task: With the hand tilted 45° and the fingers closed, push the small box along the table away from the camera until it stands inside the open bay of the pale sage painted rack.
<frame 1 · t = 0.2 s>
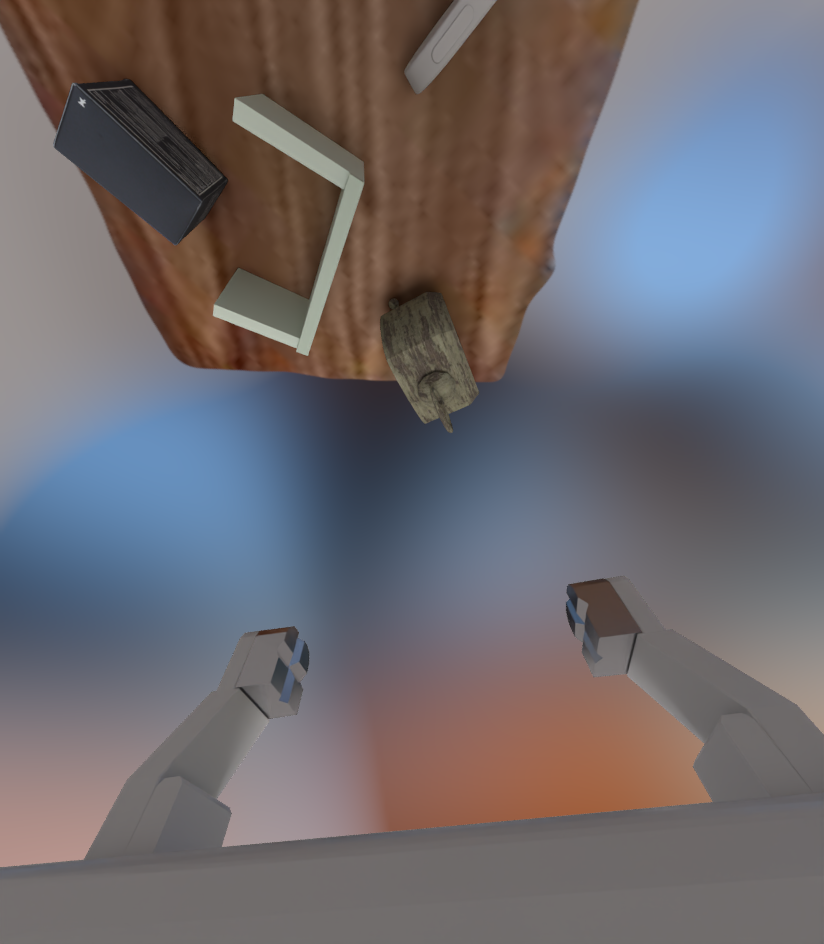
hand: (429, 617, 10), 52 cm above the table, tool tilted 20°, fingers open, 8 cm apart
small box: (171, 157, 39), on the table
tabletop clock: (422, 322, 56), on the table
rack: (331, 245, 46), on the table
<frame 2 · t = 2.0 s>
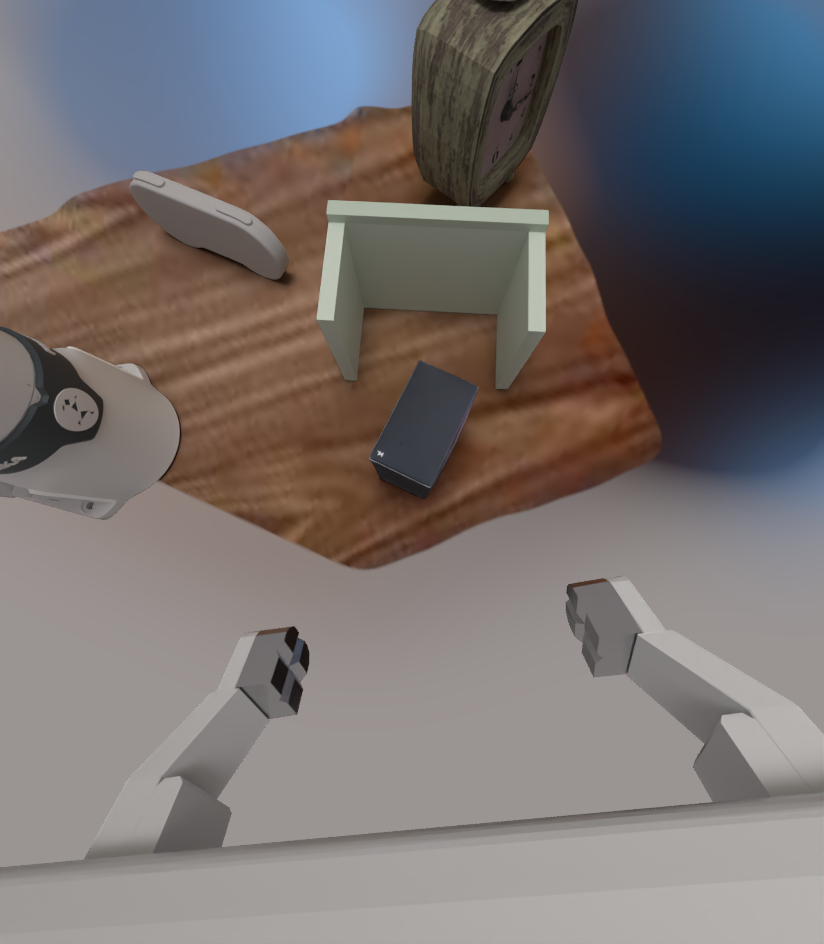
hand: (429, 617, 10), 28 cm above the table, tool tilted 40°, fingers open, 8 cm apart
small box: (421, 450, 40), on the table
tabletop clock: (466, 197, 46), on the table
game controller: (231, 257, 45), on the table
rack: (430, 305, 43), on the table
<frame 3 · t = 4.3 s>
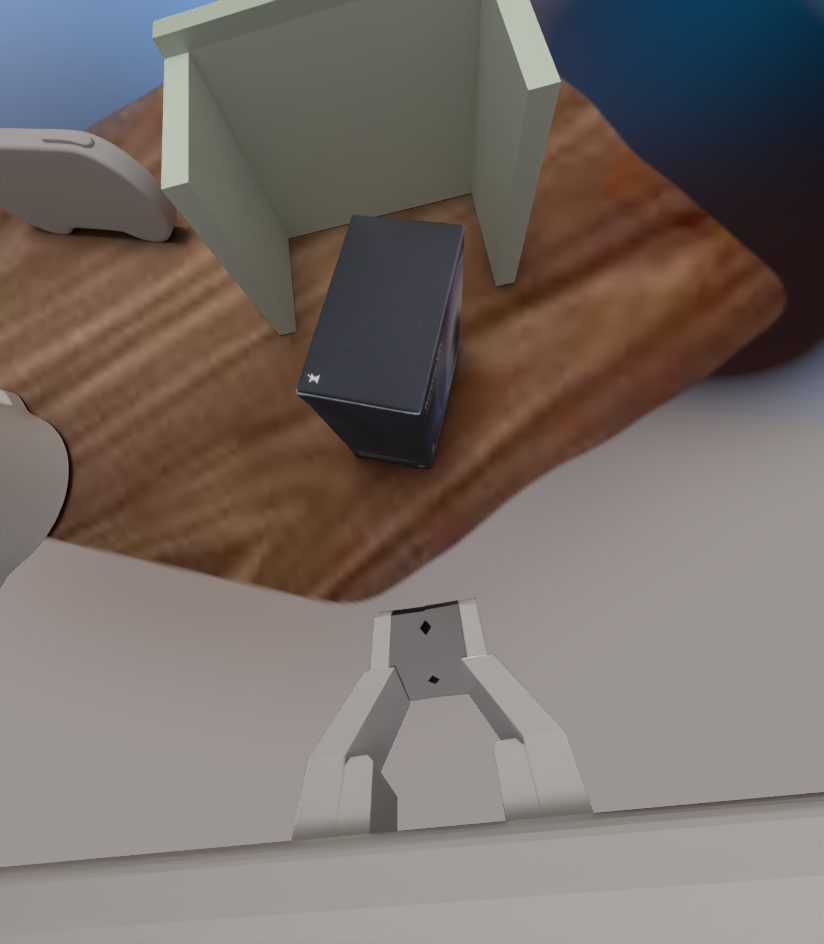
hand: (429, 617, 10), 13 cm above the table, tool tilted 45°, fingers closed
small box: (409, 401, 26), on the table
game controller: (113, 232, 34), on the table
rack: (376, 209, 30), on the table
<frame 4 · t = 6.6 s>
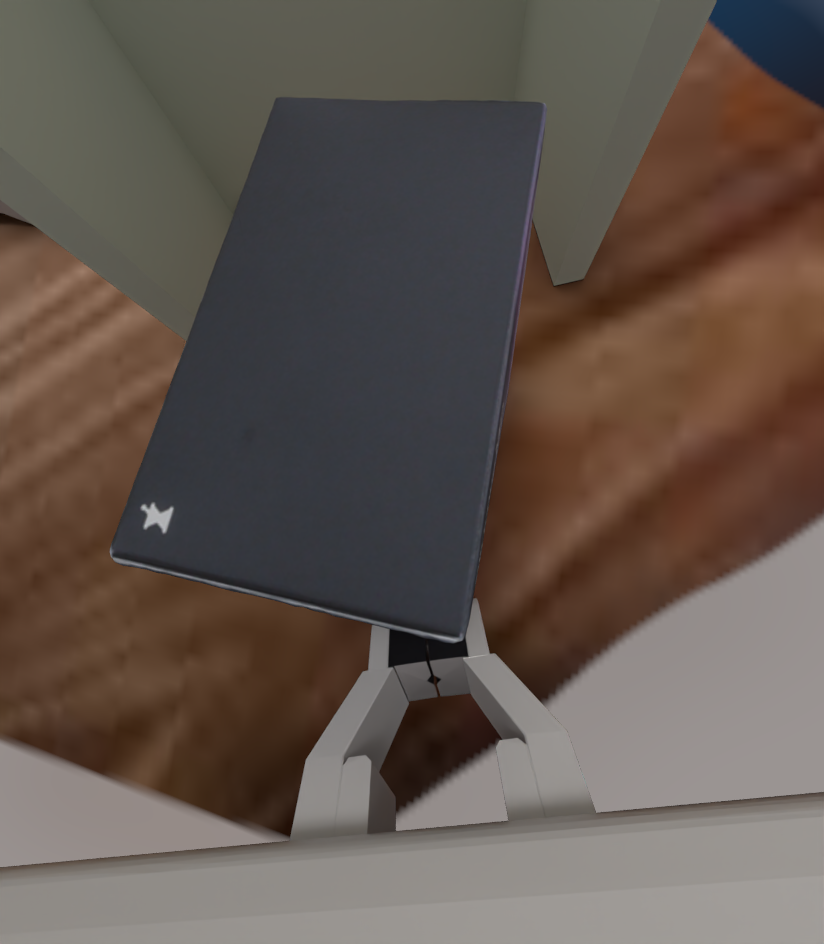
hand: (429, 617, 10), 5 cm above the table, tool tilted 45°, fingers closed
small box: (415, 458, 16), on the table, touching gripper
rack: (365, 172, 20), on the table
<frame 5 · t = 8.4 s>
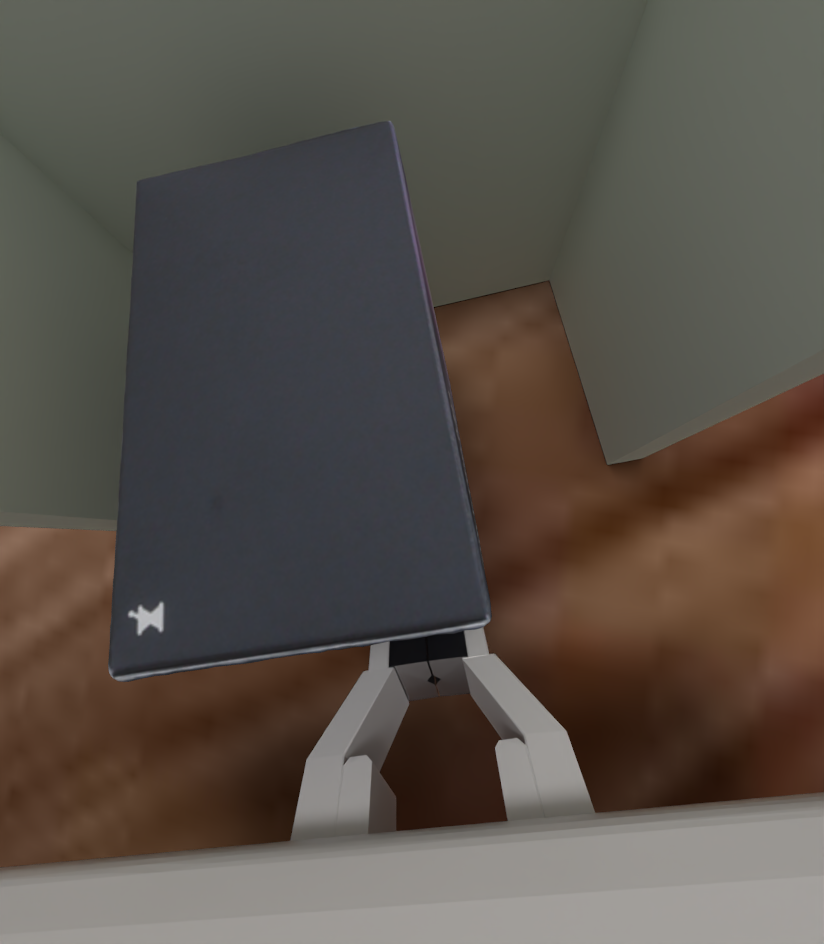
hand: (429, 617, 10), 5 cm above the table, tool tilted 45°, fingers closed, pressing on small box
small box: (386, 474, 16), on the table, touching gripper
rack: (387, 305, 18), on the table
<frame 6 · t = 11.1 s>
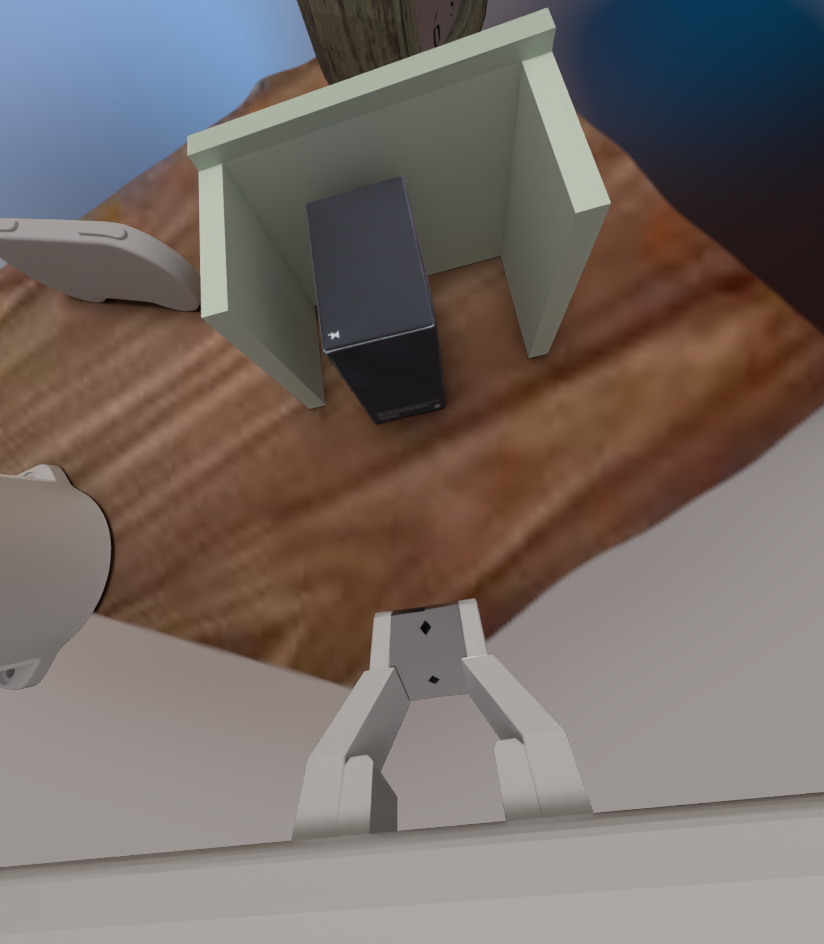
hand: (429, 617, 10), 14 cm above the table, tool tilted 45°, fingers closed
small box: (401, 361, 28), on the table
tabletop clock: (415, 127, 34), on the table
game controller: (143, 300, 35), on the table
rack: (402, 275, 30), on the table
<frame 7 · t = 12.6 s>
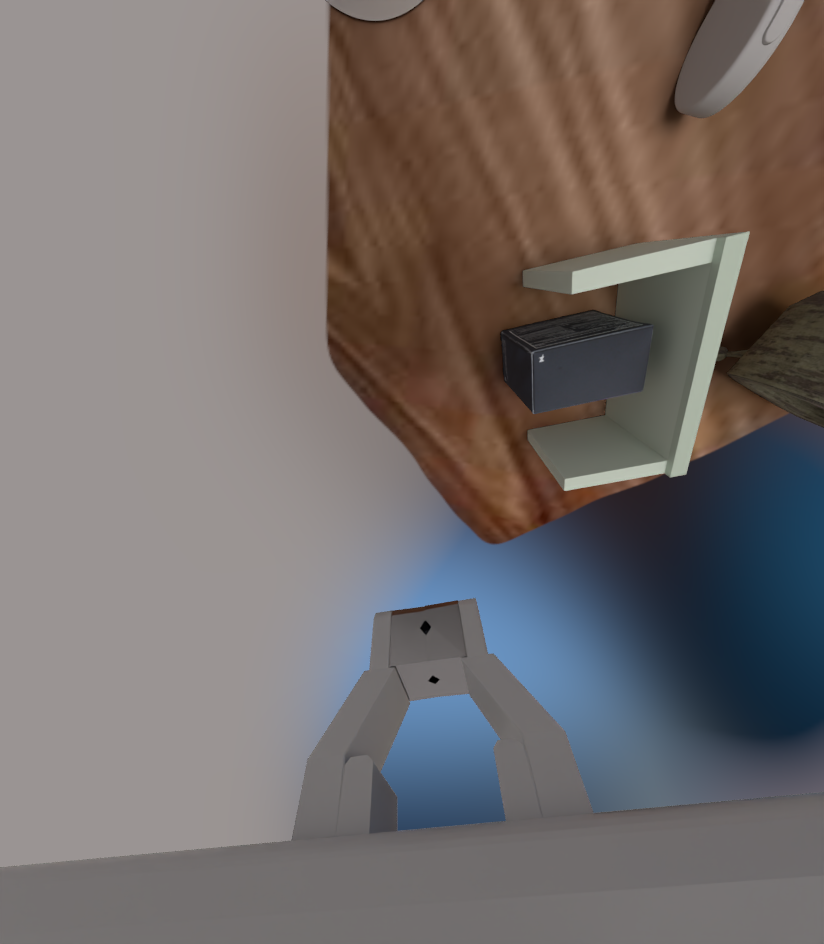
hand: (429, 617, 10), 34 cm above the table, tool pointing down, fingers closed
small box: (546, 348, 39), on the table
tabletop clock: (761, 349, 40), on the table
rack: (618, 346, 39), on the table
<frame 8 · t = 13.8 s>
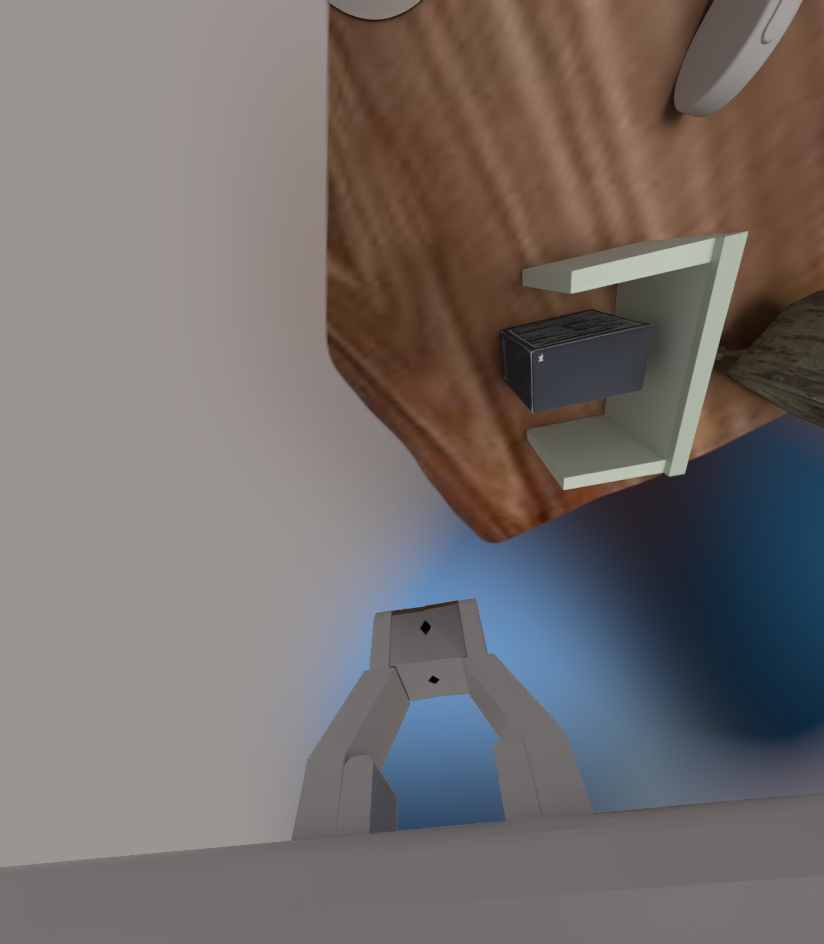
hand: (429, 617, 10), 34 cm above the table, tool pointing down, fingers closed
small box: (545, 347, 39), on the table
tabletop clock: (760, 348, 40), on the table
rack: (617, 345, 39), on the table
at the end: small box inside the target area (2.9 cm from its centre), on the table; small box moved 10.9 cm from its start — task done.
